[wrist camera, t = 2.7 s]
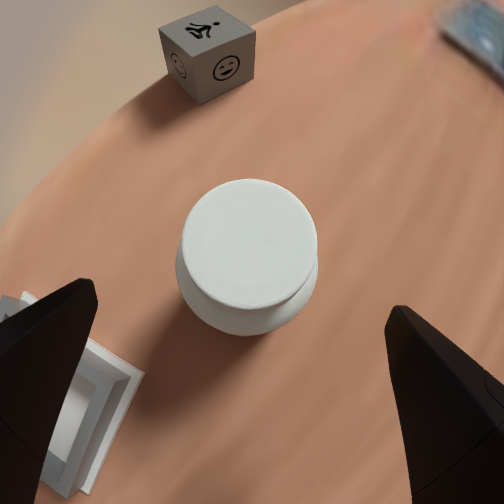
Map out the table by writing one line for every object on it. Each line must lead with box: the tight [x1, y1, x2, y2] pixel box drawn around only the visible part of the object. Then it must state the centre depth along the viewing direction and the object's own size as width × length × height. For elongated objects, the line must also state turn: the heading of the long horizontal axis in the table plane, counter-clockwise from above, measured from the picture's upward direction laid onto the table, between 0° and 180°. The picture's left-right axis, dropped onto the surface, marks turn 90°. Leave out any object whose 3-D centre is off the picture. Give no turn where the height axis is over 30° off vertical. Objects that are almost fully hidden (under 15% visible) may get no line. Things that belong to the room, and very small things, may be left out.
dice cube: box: [158, 5, 256, 105], centre depth 21 cm, size 5×5×5 cm
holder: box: [0, 291, 145, 499], centre depth 15 cm, size 10×10×3 cm
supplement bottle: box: [176, 179, 318, 336], centre depth 14 cm, size 5×5×10 cm
